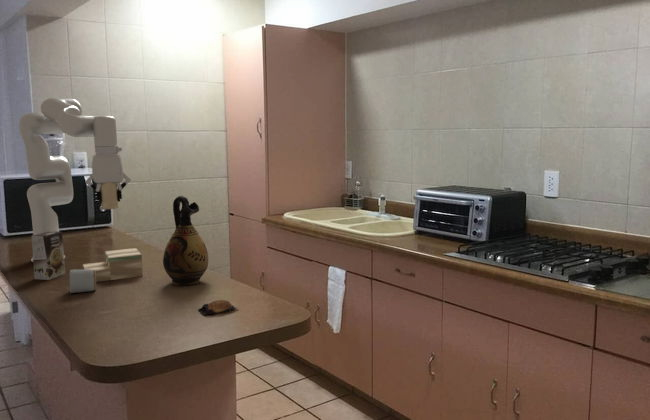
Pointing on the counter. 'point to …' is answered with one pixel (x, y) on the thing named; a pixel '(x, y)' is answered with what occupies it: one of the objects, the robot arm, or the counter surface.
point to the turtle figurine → (217, 308)
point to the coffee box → (48, 255)
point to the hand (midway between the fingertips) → (109, 201)
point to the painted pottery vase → (185, 247)
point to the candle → (109, 195)
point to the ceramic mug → (82, 280)
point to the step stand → (118, 265)
